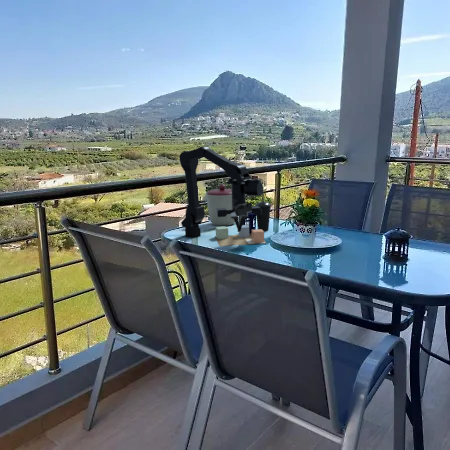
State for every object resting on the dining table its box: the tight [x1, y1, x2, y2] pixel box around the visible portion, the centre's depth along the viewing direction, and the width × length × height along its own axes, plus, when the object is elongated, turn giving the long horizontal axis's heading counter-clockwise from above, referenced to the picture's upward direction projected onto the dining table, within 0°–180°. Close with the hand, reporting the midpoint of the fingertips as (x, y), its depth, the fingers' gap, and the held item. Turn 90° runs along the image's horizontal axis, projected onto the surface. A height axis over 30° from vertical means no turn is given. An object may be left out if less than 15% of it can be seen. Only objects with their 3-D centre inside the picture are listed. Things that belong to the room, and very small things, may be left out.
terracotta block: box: [251, 228, 265, 242], centre depth 174 cm, size 4×4×4 cm
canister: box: [204, 183, 235, 227], centre depth 212 cm, size 18×18×21 cm
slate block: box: [238, 224, 250, 238], centre depth 183 cm, size 4×4×4 cm
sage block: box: [215, 226, 229, 239], centre depth 181 cm, size 4×4×4 cm
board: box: [214, 233, 267, 247], centre depth 178 cm, size 20×17×1 cm
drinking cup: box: [254, 190, 272, 232], centre depth 191 cm, size 8×8×20 cm
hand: (239, 231), depth 172 cm, fingers closed
